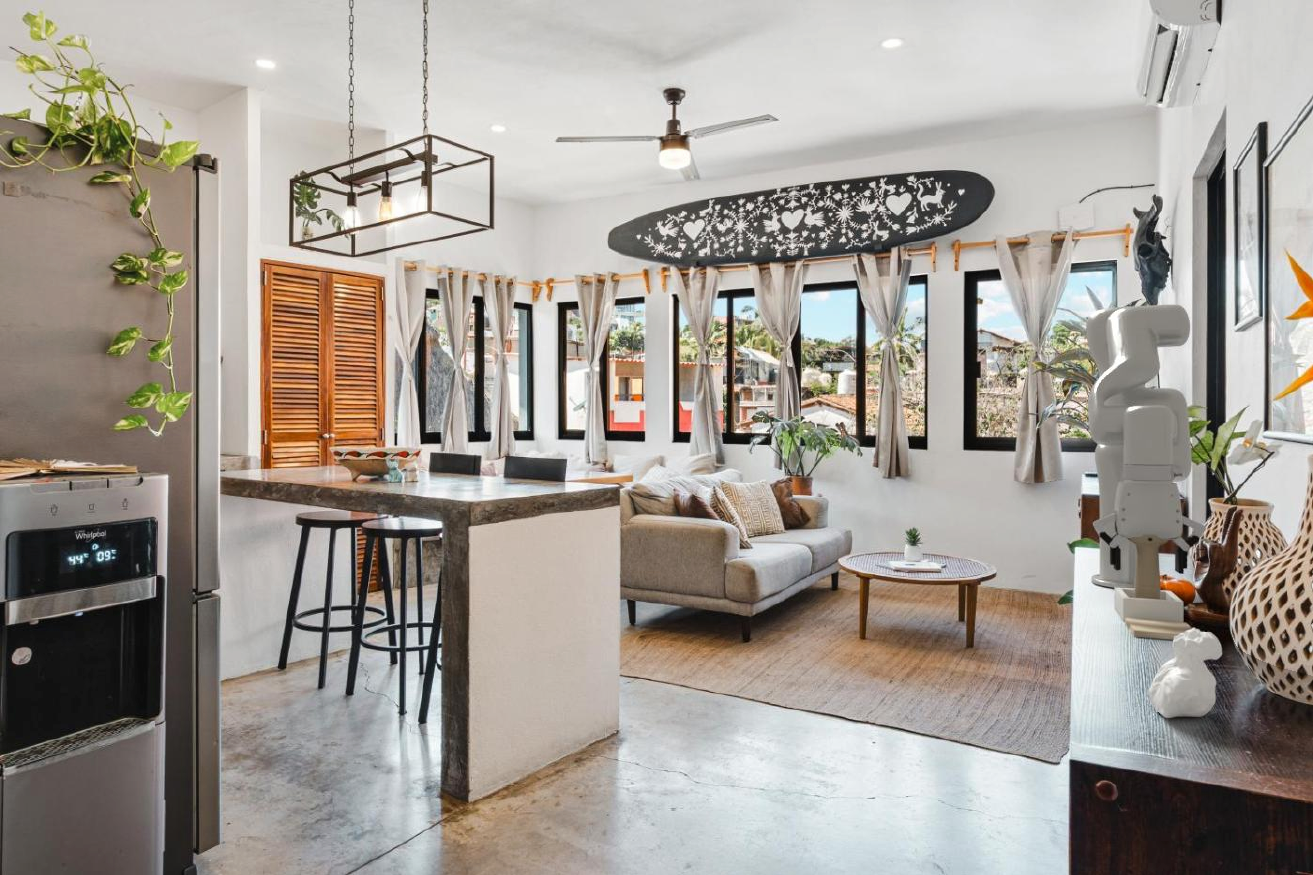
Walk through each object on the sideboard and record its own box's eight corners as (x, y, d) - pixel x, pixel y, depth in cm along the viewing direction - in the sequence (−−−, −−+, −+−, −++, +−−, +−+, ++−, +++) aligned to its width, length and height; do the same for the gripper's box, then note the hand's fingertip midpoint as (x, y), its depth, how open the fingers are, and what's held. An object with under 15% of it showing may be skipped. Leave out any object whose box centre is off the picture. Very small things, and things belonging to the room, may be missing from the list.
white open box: (1114, 608, 151) (1114, 587, 151) (1170, 612, 148) (1170, 590, 148) (1123, 621, 142) (1123, 598, 142) (1183, 625, 139) (1183, 602, 139)
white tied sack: (1184, 747, 93) (1259, 680, 89) (1123, 697, 96) (1194, 630, 92) (1185, 715, 103) (1253, 653, 99) (1130, 671, 106) (1194, 609, 102)
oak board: (1125, 623, 140) (1125, 618, 140) (1186, 628, 137) (1186, 622, 137) (1134, 636, 132) (1134, 630, 132) (1199, 641, 128) (1199, 635, 128)
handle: (1171, 621, 142) (1171, 535, 141) (1129, 618, 144) (1129, 534, 144) (1165, 615, 146) (1165, 532, 146) (1124, 612, 148) (1124, 530, 148)
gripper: (1199, 474, 145) (1199, 570, 145) (1090, 473, 151) (1090, 565, 151) (1210, 476, 138) (1210, 577, 138) (1095, 475, 144) (1095, 571, 144)
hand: (1147, 570), depth 145 cm, fingers open, 9 cm apart
